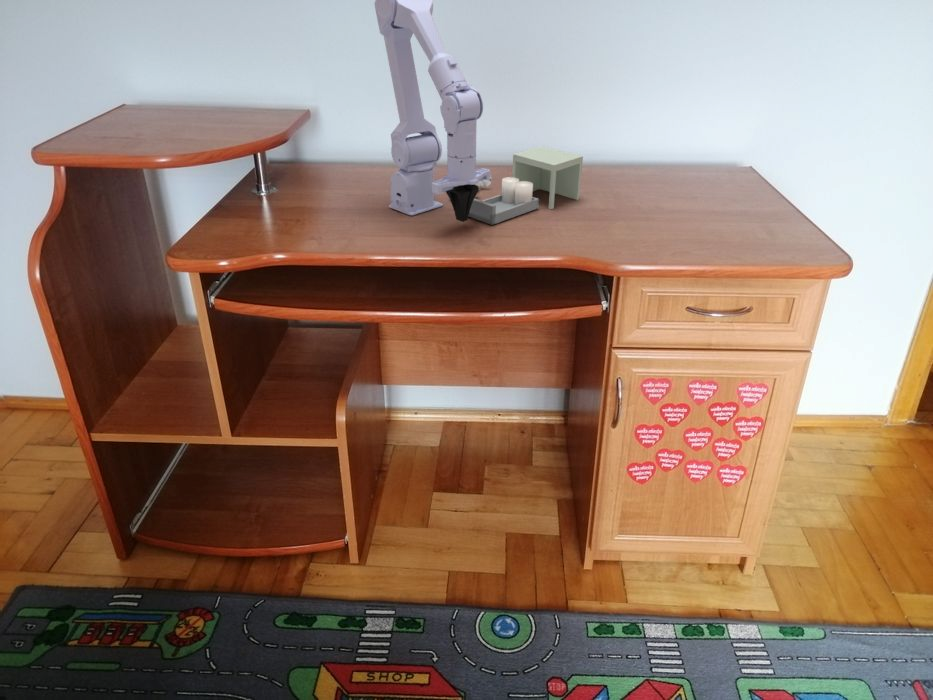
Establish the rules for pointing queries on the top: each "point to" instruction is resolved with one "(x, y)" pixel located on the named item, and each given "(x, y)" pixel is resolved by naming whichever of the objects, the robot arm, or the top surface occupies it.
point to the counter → (549, 171)
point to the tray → (505, 202)
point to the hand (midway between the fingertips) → (461, 219)
